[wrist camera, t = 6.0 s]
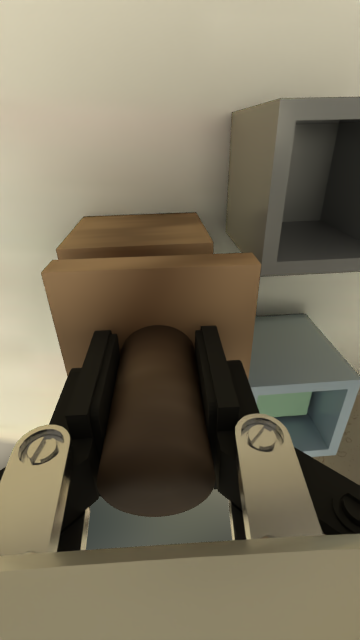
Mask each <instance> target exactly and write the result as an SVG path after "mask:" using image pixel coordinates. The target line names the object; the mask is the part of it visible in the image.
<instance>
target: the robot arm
mask: <svg viewBox="0 0 360 640" xmlns="http://www.w3.org/2000/svg"><path fill="white" fill-rule="evenodd" d="M195 355H196V362H197V368H198V375H199V381H200V388H201V394H202V401H203V407H204V414H205V420H206V427H207V433H208V439H209V442H210V446H211V453H212V459H213V465H214V472H215V485H214V489H218V492H220V493H221V494H222V495H223V496H225V497H226V498H227V499H229V512H230V522H231V531H232V541H215V542H199V543H185V544H170V545H154V546H139V547H124V548H109V549H95V550H86V541H87V533H88V524H89V515H90V506H91V505H92V504H93V503H94V502H95V501H96V500H98V498H99V496H101V495H100V493H99V491H98V488H97V475H98V470H99V464H100V459H101V454H102V449H103V444H104V439H105V434H106V428H107V423H108V418H109V413H110V407H111V402H112V397H113V391H114V386H115V381H116V376H117V370H118V365H119V360H120V350H119V343H118V336H117V334H112V332H111V330H101V331H94V334H93V337H92V339H91V342H90V345H89V348H88V351H87V354H86V357H85V360H84V363H83V365H82V368H72V369H71V370H70V372H69V375H68V377H67V380H66V382H65V385H64V388H63V390H62V393H61V395H60V398H59V400H58V403H57V405H56V408H55V411H54V413H53V416H52V418H51V421H50V423H49V425H44V426H40V427H37V428H35V429H33V430H31V431H29V432H28V433H26V434H25V435H23V436H22V437H21V438H20V440H19V441H18V442H17V443H16V445H15V446H14V448H13V450H12V453H11V456H10V458H9V461H8V463H7V466H6V467H5V468H3V469H2V470H0V640H360V485H358V484H357V483H355V482H353V481H351V480H350V479H348V478H346V477H345V476H343V475H341V474H340V473H338V472H336V471H334V470H333V469H331V468H329V467H328V466H326V465H324V464H322V463H321V462H319V461H317V460H316V459H314V458H312V457H311V456H309V455H307V454H305V453H304V452H302V451H300V450H299V449H297V448H295V447H294V446H293V443H292V440H291V437H290V434H289V432H288V430H287V428H286V427H285V426H284V425H283V424H282V423H281V422H280V421H279V420H277V419H275V418H274V417H271V416H269V415H266V414H260V412H259V409H258V407H257V404H256V401H255V398H254V395H253V392H252V390H251V387H250V384H249V381H248V378H247V375H246V373H245V370H244V367H243V364H242V362H241V361H240V360H228V361H226V357H225V354H224V350H223V347H222V343H221V340H220V337H219V333H218V330H217V326H216V325H213V326H201V329H200V330H195Z"/></svg>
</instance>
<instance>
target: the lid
mask: <svg viewBox="0 0 360 640" xmlns="http://www.w3.org/2000/svg"><path fill="white" fill-rule="evenodd" d="M260 271H261V263H260V262H259V261H258V259H257V258H256V257H255V256H254V254H253V253H227V254H200V255H173V256H146V257H119V258H92V259H65V260H52V261H51V262H50V263H49V264H48V265H47V267H46V268H45V269H44V270H43V271H42V272H41V275H42V279H43V282H44V286H45V290H46V294H47V298H48V302H49V306H50V310H51V314H52V317H53V321H54V325H55V329H56V333H57V337H58V341H59V345H60V349H61V353H62V356H63V360H64V364H65V368H66V372H67V376H68V375H69V372H70V370H71V369H72V368H82V365H83V363H84V360H85V357H86V354H87V351H88V348H89V345H90V342H91V339H92V337H93V334H94V331H101V330H111V332H112V334H117V336H118V343H119V350H120V360H119V365H118V370H117V376H116V381H115V386H114V391H113V397H112V402H111V407H110V413H109V418H108V423H107V428H106V434H105V439H104V444H103V449H102V454H101V459H100V464H99V470H98V475H97V488H98V491H99V493H100V495H101V496H102V498H103V499H104V500H105V501H106V502H107V503H109V504H110V505H111V506H113V507H114V508H116V509H118V510H121V511H123V512H126V513H130V514H133V515H138V516H146V517H161V516H169V515H174V514H178V513H182V512H185V511H187V510H190V509H192V508H194V507H196V506H197V505H199V504H200V503H202V502H203V501H204V500H205V499H206V498H207V497H208V496H209V495H210V494H211V492H212V490H213V488H214V485H215V472H214V465H213V459H212V453H211V446H210V442H209V439H208V433H207V427H206V420H205V414H204V407H203V401H202V394H201V388H200V381H199V375H198V368H197V362H196V355H195V330H200V329H201V326H213V325H216V326H217V330H218V333H219V337H220V340H221V343H222V347H223V350H224V354H225V357H226V361H228V360H240V361H241V362H242V364H243V367H244V370H245V373H246V375H247V378H249V369H250V360H251V352H252V343H253V334H254V325H255V316H256V307H257V298H258V289H259V280H260Z"/></svg>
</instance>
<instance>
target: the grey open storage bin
mask: <svg viewBox="0 0 360 640" xmlns="http://www.w3.org/2000/svg"><path fill="white" fill-rule="evenodd" d="M226 233H227V234H228V235H229V237H230V238H231V239H232V241H233V242H234V243H235V245H236V246H237V247H238V248H239V250H240V251H241V252H242V253H253V254H254V256H255V257H256V258H257V259H258V261H259V262H260V263H261V271H260V277H263V276H283V275H303V274H323V273H343V272H360V97H323V98H280V99H276V100H273V101H270V102H266V103H263V104H259V105H256V106H252V107H249V108H245V109H242V110H239V111H235V112H232V121H231V140H230V160H229V179H228V199H227V218H226Z"/></svg>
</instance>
